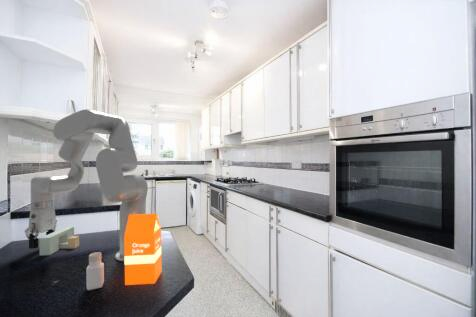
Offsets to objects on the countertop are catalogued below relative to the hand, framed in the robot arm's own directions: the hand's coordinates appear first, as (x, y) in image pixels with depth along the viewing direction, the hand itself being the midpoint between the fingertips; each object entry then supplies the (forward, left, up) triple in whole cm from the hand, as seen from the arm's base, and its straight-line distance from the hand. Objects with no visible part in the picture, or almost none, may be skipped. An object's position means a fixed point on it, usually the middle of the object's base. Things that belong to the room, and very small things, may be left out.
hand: (42, 244), depth 100 cm
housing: (-7, 0, -2) cm, 7 cm away
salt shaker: (-40, +37, -2) cm, 55 cm away
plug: (-7, 0, -2) cm, 8 cm away
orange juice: (-53, +34, -2) cm, 63 cm away
